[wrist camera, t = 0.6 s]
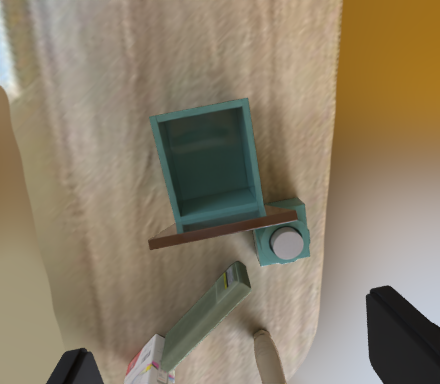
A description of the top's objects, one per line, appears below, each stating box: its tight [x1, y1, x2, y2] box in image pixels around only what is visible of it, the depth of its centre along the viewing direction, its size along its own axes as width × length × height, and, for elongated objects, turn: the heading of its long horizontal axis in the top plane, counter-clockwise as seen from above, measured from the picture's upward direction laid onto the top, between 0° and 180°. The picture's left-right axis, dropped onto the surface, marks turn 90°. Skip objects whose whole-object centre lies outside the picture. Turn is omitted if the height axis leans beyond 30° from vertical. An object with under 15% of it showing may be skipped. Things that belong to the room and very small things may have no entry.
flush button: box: [270, 227, 304, 260], centre depth 41 cm, size 4×4×2 cm
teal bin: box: [149, 98, 264, 222], centre depth 38 cm, size 14×12×8 cm
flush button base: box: [252, 197, 310, 266], centre depth 44 cm, size 9×8×5 cm
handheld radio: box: [161, 261, 252, 373], centre depth 46 cm, size 7×3×25 cm
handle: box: [254, 330, 287, 384], centre depth 45 cm, size 5×6×15 cm
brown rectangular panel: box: [148, 205, 298, 250], centre depth 29 cm, size 14×12×1 cm
